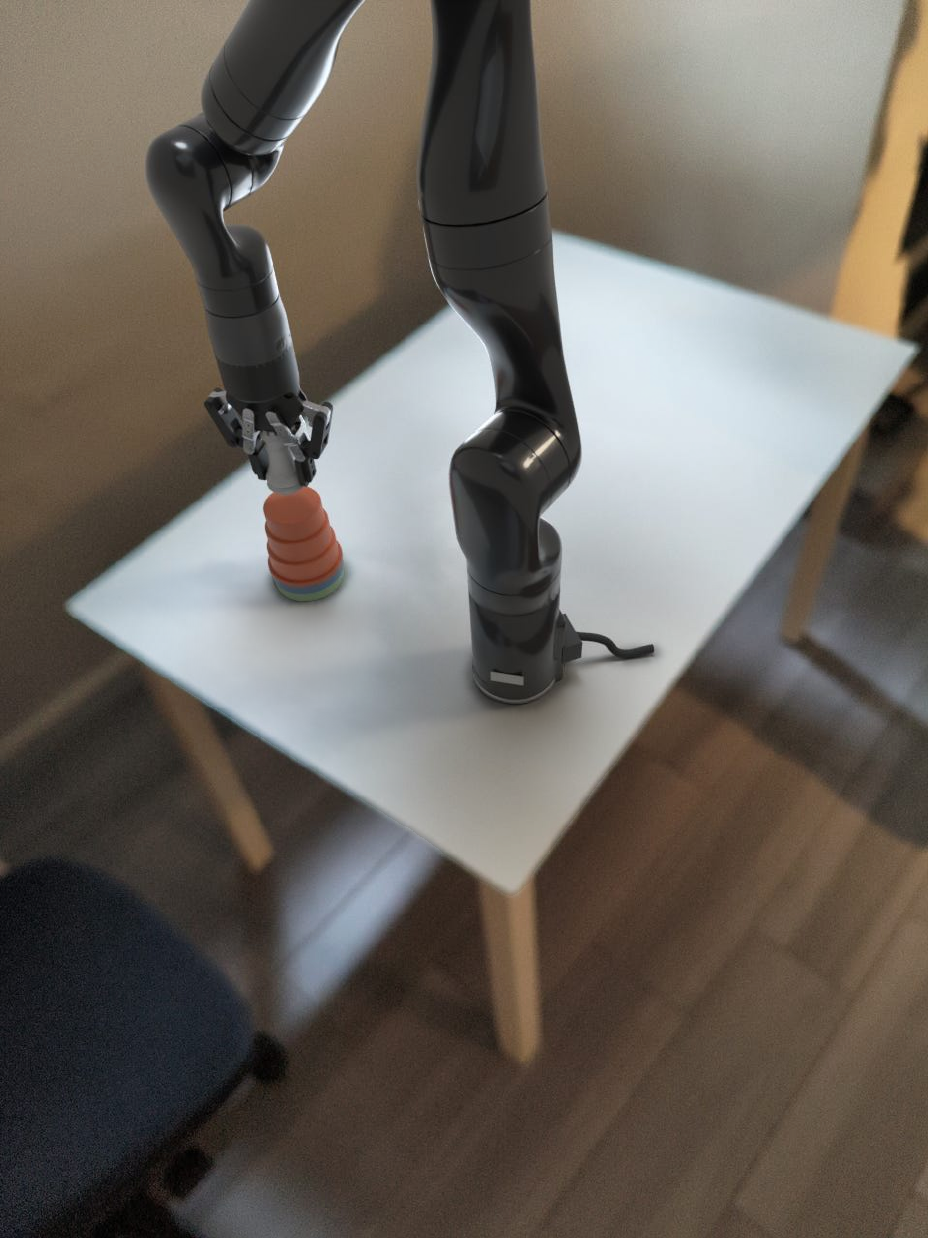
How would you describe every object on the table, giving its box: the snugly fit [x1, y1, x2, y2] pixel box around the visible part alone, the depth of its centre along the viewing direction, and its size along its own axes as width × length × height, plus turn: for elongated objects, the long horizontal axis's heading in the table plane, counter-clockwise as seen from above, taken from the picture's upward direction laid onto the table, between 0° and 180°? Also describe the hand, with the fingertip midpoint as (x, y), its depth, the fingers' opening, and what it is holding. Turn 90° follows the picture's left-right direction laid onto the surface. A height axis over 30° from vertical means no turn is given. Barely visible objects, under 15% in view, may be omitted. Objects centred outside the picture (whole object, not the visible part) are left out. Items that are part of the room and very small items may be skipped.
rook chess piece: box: [259, 430, 303, 495], centre depth 99 cm, size 4×4×8 cm
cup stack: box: [262, 486, 345, 602], centre depth 108 cm, size 9×9×12 cm
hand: (285, 477), depth 101 cm, fingers closed on rook chess piece, 4 cm apart
